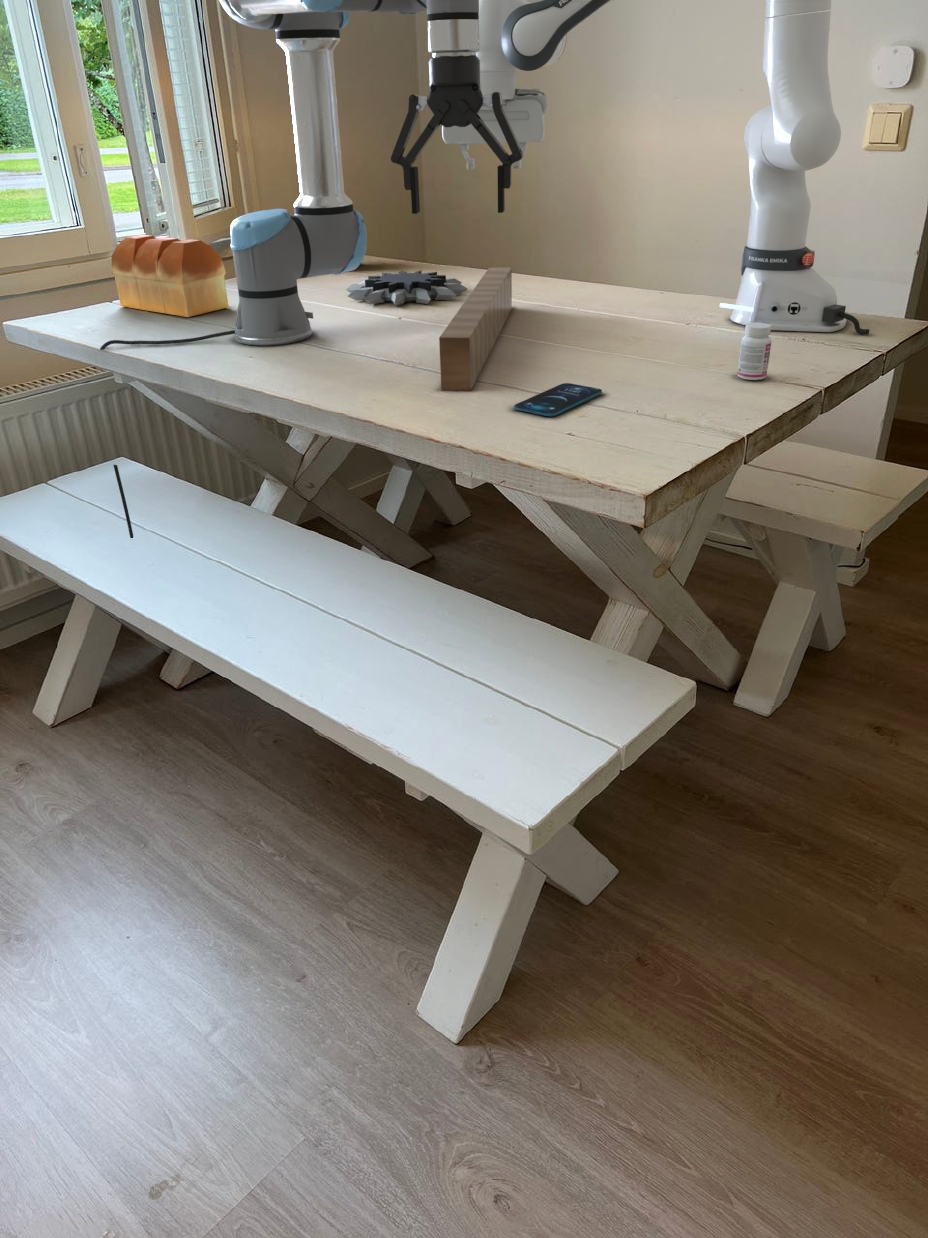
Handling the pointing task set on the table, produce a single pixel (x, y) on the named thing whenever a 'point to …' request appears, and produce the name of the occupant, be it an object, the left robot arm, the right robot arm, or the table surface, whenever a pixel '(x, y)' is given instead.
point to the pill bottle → (755, 351)
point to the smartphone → (558, 399)
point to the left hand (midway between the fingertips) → (458, 212)
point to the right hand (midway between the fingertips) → (493, 168)
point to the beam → (475, 330)
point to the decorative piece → (406, 288)
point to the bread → (169, 275)
